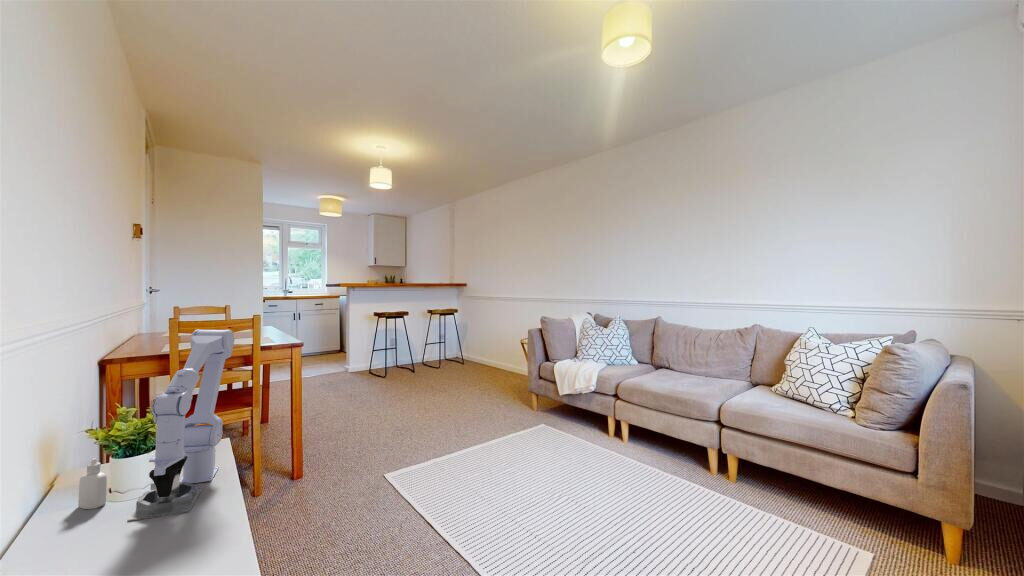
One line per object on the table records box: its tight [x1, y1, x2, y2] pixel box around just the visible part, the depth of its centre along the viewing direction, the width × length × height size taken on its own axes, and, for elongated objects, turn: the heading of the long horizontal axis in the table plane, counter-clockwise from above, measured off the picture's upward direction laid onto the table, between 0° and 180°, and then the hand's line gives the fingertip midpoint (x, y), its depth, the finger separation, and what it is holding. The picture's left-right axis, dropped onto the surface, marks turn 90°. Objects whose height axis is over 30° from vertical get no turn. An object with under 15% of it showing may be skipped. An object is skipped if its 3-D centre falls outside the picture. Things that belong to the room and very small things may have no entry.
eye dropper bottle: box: [77, 457, 108, 510], centre depth 104 cm, size 4×6×12 cm
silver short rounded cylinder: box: [150, 473, 181, 502], centre depth 105 cm, size 6×5×6 cm
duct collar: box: [126, 482, 203, 523], centre depth 105 cm, size 12×12×3 cm
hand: (168, 491), depth 105 cm, fingers closed on silver short rounded cylinder, 5 cm apart
